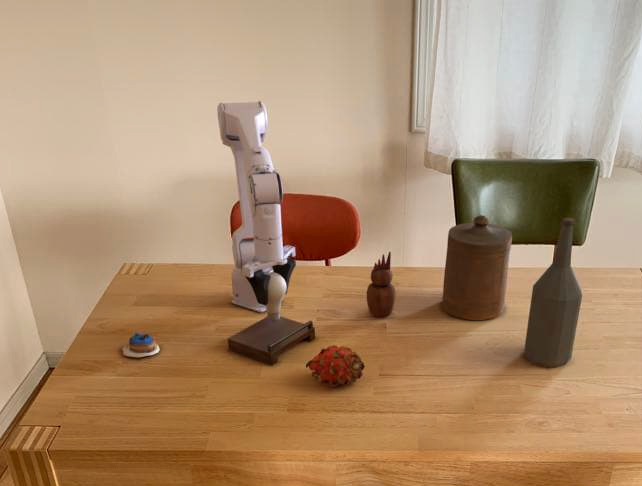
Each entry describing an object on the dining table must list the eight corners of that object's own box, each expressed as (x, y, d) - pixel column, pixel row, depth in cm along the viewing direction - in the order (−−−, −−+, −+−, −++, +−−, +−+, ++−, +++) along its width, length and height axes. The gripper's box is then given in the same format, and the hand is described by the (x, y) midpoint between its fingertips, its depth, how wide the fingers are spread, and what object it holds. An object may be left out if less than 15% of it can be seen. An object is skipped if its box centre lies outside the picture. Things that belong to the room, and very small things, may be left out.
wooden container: (514, 304, 193) (525, 213, 179) (486, 326, 182) (496, 232, 169) (460, 289, 199) (467, 201, 186) (430, 310, 189) (436, 218, 176)
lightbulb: (293, 318, 172) (290, 270, 166) (281, 330, 168) (277, 280, 161) (267, 313, 174) (264, 265, 167) (255, 325, 169) (250, 276, 163)
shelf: (228, 350, 171) (226, 331, 168) (273, 324, 181) (271, 307, 178) (271, 365, 166) (270, 346, 163) (315, 338, 176) (314, 320, 173)
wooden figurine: (396, 309, 189) (398, 248, 180) (394, 320, 184) (395, 258, 175) (368, 308, 189) (368, 246, 180) (365, 318, 184) (365, 256, 175)
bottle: (575, 352, 173) (600, 215, 155) (564, 372, 166) (589, 231, 148) (530, 342, 176) (549, 207, 159) (517, 361, 169) (535, 222, 151)
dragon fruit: (368, 393, 160) (311, 395, 162) (370, 355, 163) (314, 358, 165) (359, 376, 152) (299, 378, 155) (361, 336, 155) (302, 339, 157)
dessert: (167, 348, 169) (148, 331, 164) (149, 372, 168) (129, 357, 164) (148, 337, 174) (129, 321, 169) (130, 361, 173) (111, 346, 168)
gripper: (259, 250, 153) (264, 315, 161) (305, 229, 163) (308, 291, 171) (232, 242, 156) (238, 306, 164) (278, 222, 166) (282, 283, 174)
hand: (272, 298), depth 168 cm, fingers closed on lightbulb, 6 cm apart
